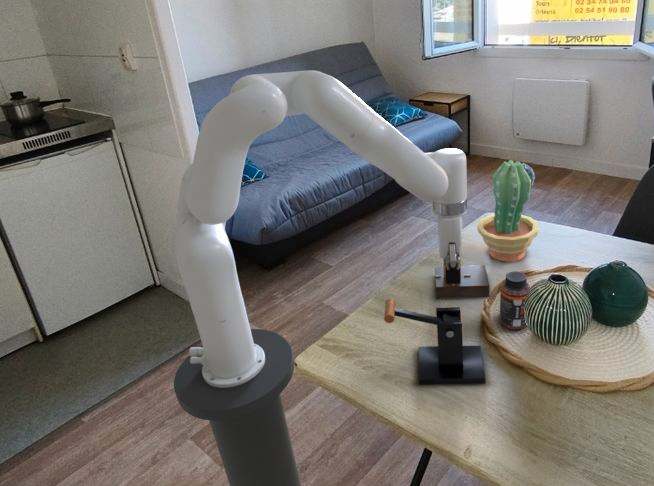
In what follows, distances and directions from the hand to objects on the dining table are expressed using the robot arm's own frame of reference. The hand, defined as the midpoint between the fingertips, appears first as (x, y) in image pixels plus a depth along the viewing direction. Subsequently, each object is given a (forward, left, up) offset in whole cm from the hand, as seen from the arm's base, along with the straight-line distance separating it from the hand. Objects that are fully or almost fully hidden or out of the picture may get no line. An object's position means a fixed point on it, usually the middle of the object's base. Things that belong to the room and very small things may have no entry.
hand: (452, 272), depth 118 cm
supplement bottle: (+12, -14, -4) cm, 19 cm away
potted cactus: (+15, +15, -4) cm, 22 cm away
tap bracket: (-2, -27, -4) cm, 27 cm away
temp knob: (0, 0, -1) cm, 1 cm away
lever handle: (-7, -27, +6) cm, 29 cm away
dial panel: (+2, 0, -4) cm, 4 cm away
